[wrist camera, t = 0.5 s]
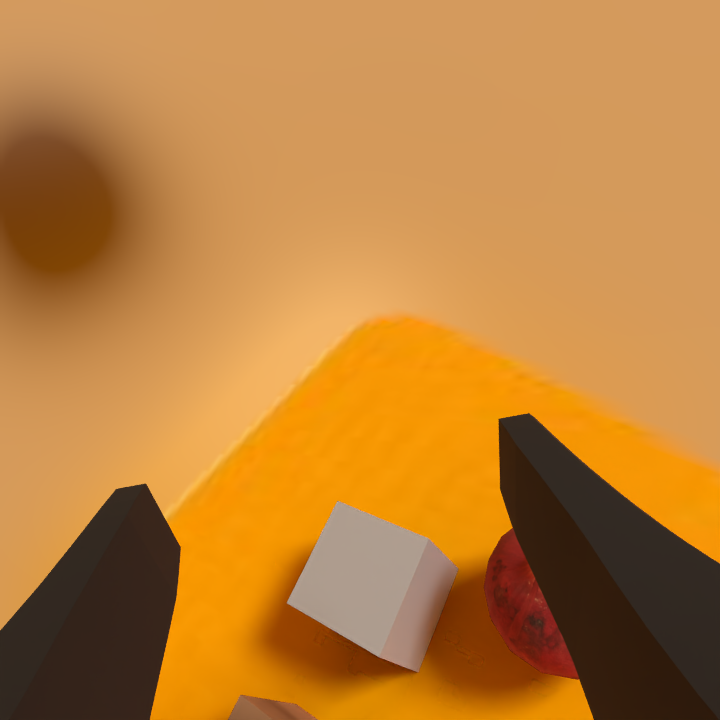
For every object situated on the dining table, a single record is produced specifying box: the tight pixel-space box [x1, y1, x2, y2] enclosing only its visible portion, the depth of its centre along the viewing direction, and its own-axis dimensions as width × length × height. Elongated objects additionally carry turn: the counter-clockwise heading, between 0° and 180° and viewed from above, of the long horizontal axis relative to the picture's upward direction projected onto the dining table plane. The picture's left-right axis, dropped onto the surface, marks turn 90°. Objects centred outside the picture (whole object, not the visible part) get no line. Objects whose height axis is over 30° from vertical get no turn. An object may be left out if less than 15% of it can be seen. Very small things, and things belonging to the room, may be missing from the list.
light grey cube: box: [287, 501, 458, 672], centre depth 26 cm, size 5×5×5 cm
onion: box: [484, 528, 579, 680], centre depth 21 cm, size 6×6×8 cm
